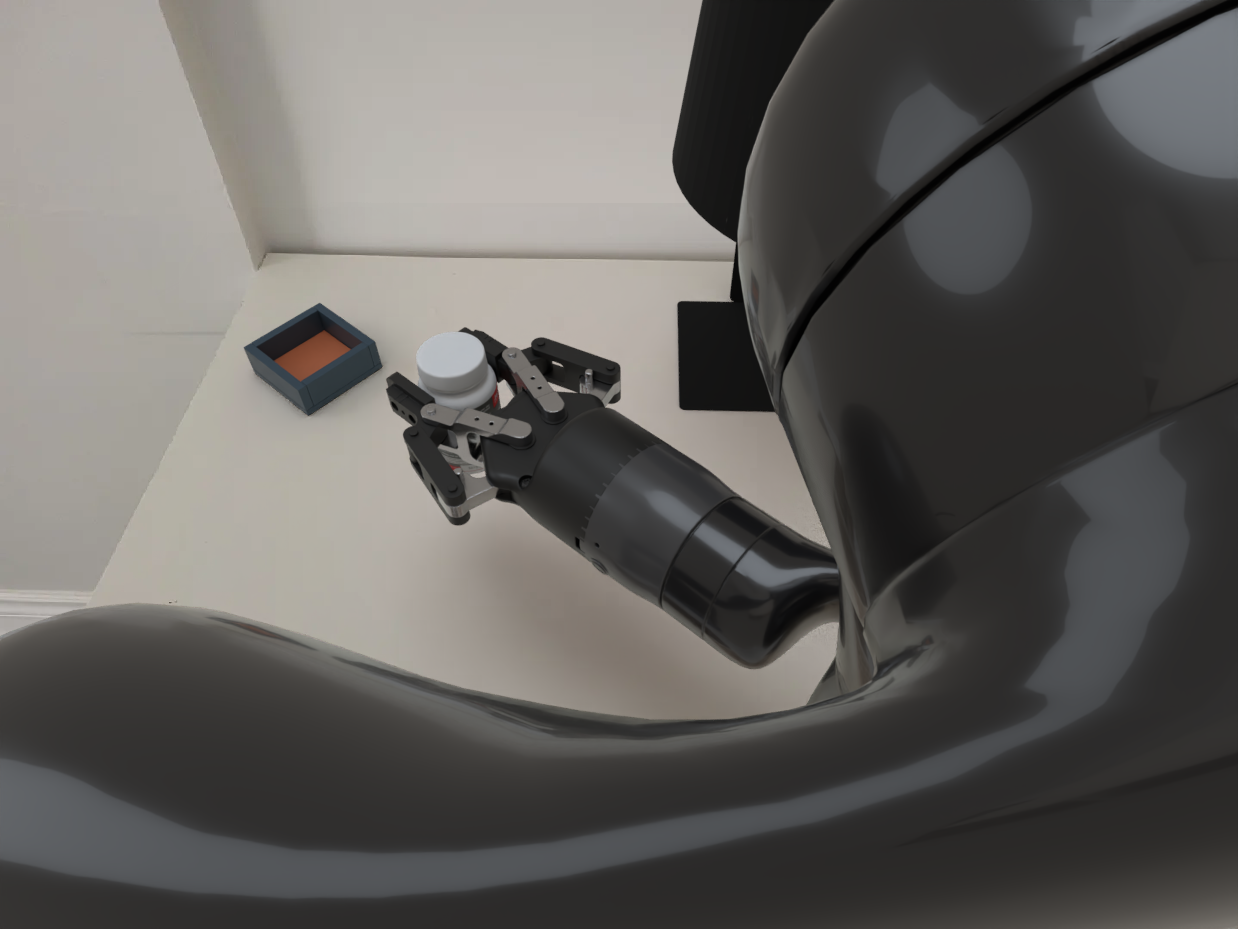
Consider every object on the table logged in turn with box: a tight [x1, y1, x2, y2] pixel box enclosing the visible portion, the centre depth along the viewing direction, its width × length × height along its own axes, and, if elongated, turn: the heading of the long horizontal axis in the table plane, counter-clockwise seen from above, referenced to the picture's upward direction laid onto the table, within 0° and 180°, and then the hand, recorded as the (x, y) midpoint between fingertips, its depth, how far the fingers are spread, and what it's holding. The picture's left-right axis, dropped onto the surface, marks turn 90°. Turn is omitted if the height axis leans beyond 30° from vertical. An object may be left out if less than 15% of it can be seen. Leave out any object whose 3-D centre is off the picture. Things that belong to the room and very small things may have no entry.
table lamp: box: [671, 0, 833, 413], centre depth 61 cm, size 26×28×40 cm
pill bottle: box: [415, 331, 502, 475], centre depth 54 cm, size 5×5×8 cm
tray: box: [243, 302, 383, 416], centre depth 78 cm, size 8×8×3 cm
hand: (428, 363), depth 54 cm, fingers closed on pill bottle, 4 cm apart
